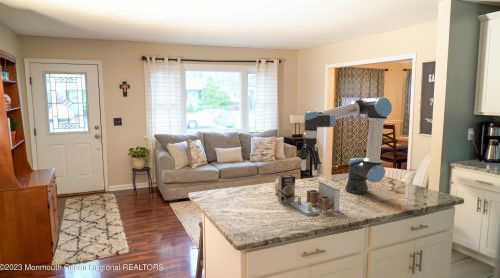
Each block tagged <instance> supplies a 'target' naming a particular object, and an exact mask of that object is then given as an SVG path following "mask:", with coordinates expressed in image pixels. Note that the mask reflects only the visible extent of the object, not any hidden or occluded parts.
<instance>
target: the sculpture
mask: <svg viewBox="0 0 500 278" xmlns="http://www.w3.org/2000/svg"><path fill="white" fill-rule="evenodd" d="M273 185H274V187H273V188H274V191H275V193H277V194H278V178H275V179H274V184H273Z"/></svg>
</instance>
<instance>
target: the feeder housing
mask: <svg viewBox="0 0 500 278" xmlns="http://www.w3.org/2000/svg"><path fill="white" fill-rule="evenodd" d="M317 191H319V192H320V196H328V197H330V198H332V210H331V211H333V212H334V211H335V212H339V211H340V198H341V197H340V196H341V195H340V193H341V188H339V187H337V186H336V185H333V184H331V183H329V182H327V181H324V180H319V181H318V190H317Z"/></svg>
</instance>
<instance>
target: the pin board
mask: <svg viewBox="0 0 500 278" xmlns="http://www.w3.org/2000/svg"><path fill="white" fill-rule="evenodd" d="M296 200H297V201H294V202H289V203H290V205H291V206H292V207H293V208H295V209H296V210H298V211H299V212H300V213H302V214H303V215H305V216H306V217H307V216H315V214H316V215H319V214H320V211H319V210H318V209H316V208H315V207H313V206H312V203H308V204H307V202H305V201H304V200H302V196H299V195H298V196H297V199H296Z"/></svg>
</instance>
